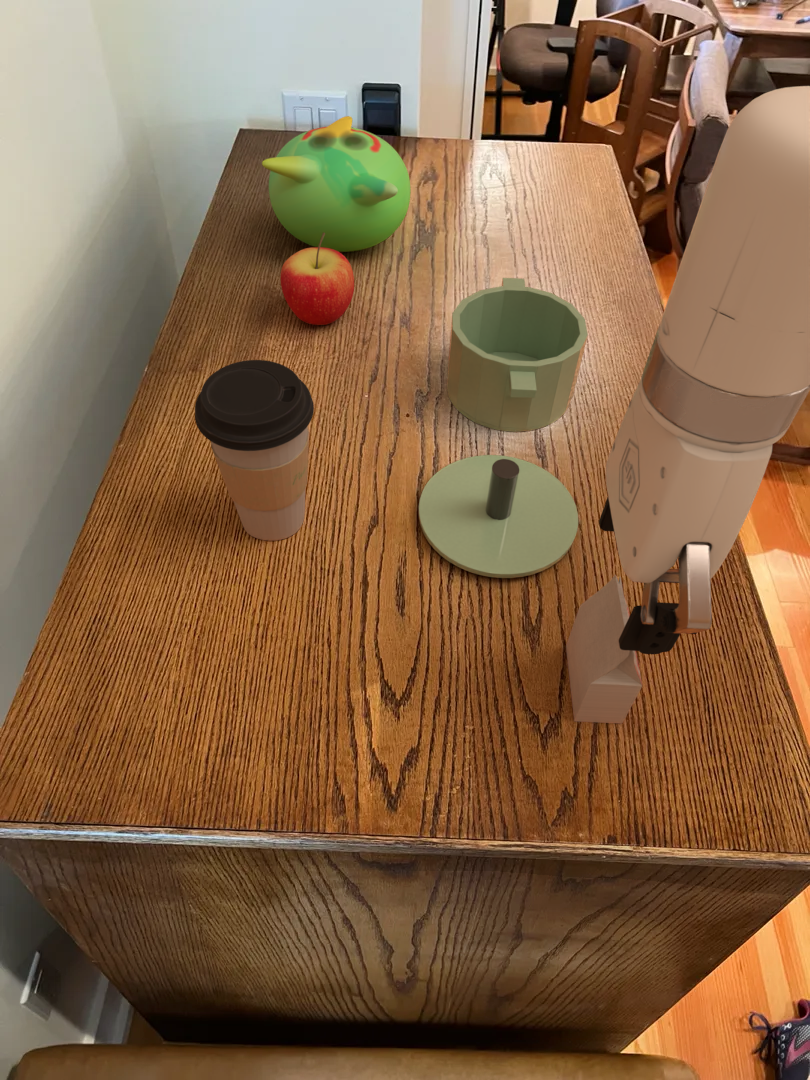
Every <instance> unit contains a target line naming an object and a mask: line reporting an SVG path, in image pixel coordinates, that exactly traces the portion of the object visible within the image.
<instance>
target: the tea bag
mask: <svg viewBox="0 0 810 1080" xmlns="http://www.w3.org/2000/svg"><path fill="white" fill-rule="evenodd" d="M630 614H631V613H630V609H629V605H628V603H627V600H626V598H625V593H624V588H623V582H622V577H621V575H619V579H618V577H617V575H616V573H615V574H613V576H612V577H611V578H610V580H609V581H607V583H606V584H604V586H602V587H601V588H600V589H599V590H598V591H596V592H595V593H593V594H592V595H591V596H590V597H589V598H587V599H586V600H585V601H583V602H582V603H581V604H580V605H579V607H578V611H577V613H576V616H575V619H574V622H573V624H572V626H571V630H570V633H569V636H568V639H567V641H566V645H565V651H566V659H567V668H568V678H569V687H570V696H571V704H572V714H573V722H579V723H598V724H599V723H600V724H601V723H603V724H624V721H625V719H626V717H627V716H628V714H629V712H630V710H631V708H632V706H633V705H634V702H635V701H636V699H637V697H638V695H639V694H640V691H641V690H642V688H643V682H642V681H643V680H642V675H641V670H640V663H639V659H638V654H637V651H629V650H621V649H620V647H619V638H620V636H621V634H622V632H623V629H624V627H625V625H626V623H627V621H628V619H629V617H630Z"/></svg>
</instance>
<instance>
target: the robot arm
mask: <svg viewBox="0 0 810 1080" xmlns="http://www.w3.org/2000/svg"><path fill="white" fill-rule="evenodd" d="M708 178H709V179H708V181H707V185H706V188H705V190H704V194H703V196H702V198H701V202H700V204H699V208H698V211H697V214H696V217H695V220H694V222H693V225H692V228H691V232H690V234H689V237H688V240H687V243H686V246H685V248H684V252H683V254H682V258H681V259H680V264H679V266H678V270H677V272H676V275H675V279H674V281H673V284H672V287H671V290H670V293H669V295H668V299H667V302H666V305H665V307H664V311H663V313H662V316H661V318H660V322H659V325H658V328H657V330H656V332H655V333H656V334H655V336H654V339H653V342H652V344H651V348H650V351H649V352H648V353H649V354H648V356H647V358H646V359H647V360H646V361H645V364H644V368H643V371H642V375H641V377H640V379H639V382H638V384H637V386H636V388H635V390H634V393H633V395H632V397H631V399H630V401H629V403H628V406H627V407H626V410H625V413H624V416H623V418H622V421H621V422H620V426H619V428H618V431H617V433H616V435H615V438H614V441H613V443H612V445H611V448H610V450H609V454H608V456H607V459H606V463H605V484H606V490H607V491H606V492H607V497H606V500H605V504H604V506H603V509H602V511H601V515H600V517H599V520H598V525H599V528H600V530H602V531H603V532H612V533H613V532H614V538H615V542H616V548H617V553H618V557H619V561H620V565H621V568H622V570H623V572H624V574H625V575H626V577H627V578H628V579H629V580H630V581H631V582H633V583H641V584H642V583H643V586H642V595H641V604H639V605H635V606H633V608H632V610H631V612H630V613H629V614H630V617H629V619H628V621H627V623H626V625H625V627H624V629H623V632H622V634H621V636H620V638H619V647H620V649H621V650H629V651H636V652H639V653H640V654H644V655H660V654H662V653H668V652H670V651H672V649H673V648H674V646H675V645H676V643H677V641H678V639H679V637H680V635H682V634H683V635H697V634H698V633H702V632H706V631H709V630H710V629H711V627H712V625H713V623H712V621H713V616H712V613H713V612H712V611H713V610H712V587H711V586H712V585H711V584H712V582H711V580H712V578H714V576H715V575H716V574H717V572H718V571H719V569H720V568H721V567H722V565H723V563H724V562H725V560H726V559H727V557H728V555H729V553H730V552H731V550H732V547H734V544H735V542H736V540H737V538H738V536H739V534H740V532H741V529H742V528H743V526H744V523H745V521H746V519H747V517H748V515H749V513H750V511H751V508H752V506H753V503H754V501H755V498H756V497H757V494H758V491H759V489H760V486H761V484H762V481H763V479H764V477H765V473H766V470H767V469H768V468H767V467H768V466H769V465H768V464H769V462H770V459H771V456H772V453H773V444H775V443H777V442H779V441H780V440H781V439H782V438H783V437H784V436H785V435H786V433H787V432H788V430H789V428H790V426H791V425H792V423H793V422H794V419H795V417H796V416H797V414H798V412H799V411H800V409H801V407H802V405H803V404H804V401H805V399H806V398H807V396H808V395H809V393H810V85H800V86H799V85H798V86H787V87H781V88H777V89H773V90H770V91H768V92H765V93H763V94H761V95H759V96H756V97H755V98H754V99H752V100H751V101H749V102H748V103H747V104H746V105H745V106H744V107H743V108H742V109H740V110H739V112H738V113H737V114H736V116H735V117H733V119H732V121H731V123H730V124H729V126H728V128H727V129H726V132H725V134H724V137H723V140H722V143H721V145H720V147H719V150H718V152H717V156H716V158H715V161H714V164H713V167H712V170H711V173H710V175H709V177H708ZM677 561H678V568H673V567H674V566H675V564H676V562H677ZM661 583H666V584H667V583H668V584H678V592H679V593H678V594H679V595H678V596H679V597H678V598H679V599H678V600H679V601H678V602H663V601H662V602H661V601H659V595H660V594H659V593H660V584H661Z"/></svg>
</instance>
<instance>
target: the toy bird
mask: <svg viewBox="0 0 810 1080" xmlns="http://www.w3.org/2000/svg"><path fill="white" fill-rule="evenodd" d="M352 126H353V117H352V116H350V115H345V116H343V117H340V118H339V119H337V120H335V121H334V122H332V123H330V124H329V125H327V126H322V127H316V128H313V129H308V130H307V131H304V132H302V133H300V134H297V135H296V136H294V137H293V138H292V139H290V140H289V141H288V142H286V143H285V144H284V146H283V147H282V148H281V149H280V150H279V151H278V153H277V155H276V156H275V157H269V158H265V159H264V160H262V161H261V165H262V167H263V168H264V169H266V170H268V171H269V176H268V196H269V201H270V205H271V208H272V210H273V212H274V214H275V217H276V218H277V220H278V221H279V223H280V224H281V225H282V227H283V228H284V229H285V230H286V231H287V232H288V233H289V234H290V235H292V236H293V237H294V238H295V239H297V240H299V241H301V242H303V243H305V244H306V245H308V246H311V247H318V246H319V243H320V239H321V236H322V234H323V232H324V233H325V235H324V238H323V240H322V243H321V246H320V247H323V248H330V249H334V250H336V251H338V252H340V253H346V252H347V253H348V252H357V251H363V250H366V249H370V248H372V247H375V246H378V245H380V244H381V243H383V242H385V241H386V240H387V239H388V238H390V237H391V236H392V235H393V234H394V233H395V232H396V231H397V230H398V229H399V227H400V226H401V225H402V224H403V221H404V220H405V218H406V215H407V213H408V210H409V208H410V202H411V193H412V189H411V180H410V179H411V178H410V175H409V172H408V168H407V166H406V164H405V162H404V160H403V159H402V157H401V155H400V154H399V153H398V151H397V150H396V149H395V148H394V147H393V146H392V145H391V144H389V142H387V141H386V140H385V139H384V138H381V137H379V136H378V135H376V134H374V133H372V132H370V131H367V130H364V129H360V128H357V127H352Z"/></svg>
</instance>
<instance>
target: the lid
mask: <svg viewBox="0 0 810 1080" xmlns="http://www.w3.org/2000/svg"><path fill="white" fill-rule="evenodd" d="M418 502H419V503H418V520H419V526H420V529H421V532H422V533H423V536H424V537H425V539H426V541H427V542H428V543H429V545H430V546H431V547H432V548H433V549H434V551H435V552H436V553H438V554H439V555H440V557H442V558H443V559H445V560H446V561H447V562H449V563H450V564H452V565H454V566H456V567H457V568H460V569H462V570H464V571H467V572H469V573H472V574H475V575H479V576H483V577H488V578H495V579H496V578H497V579H514V578H523V577H526V576H531V575H532V576H533V575H534V574H538V573H540V572H543V571H546V570H548V569H549V568H551V567H553V566H554V565H556V564H557V563H558V562H559V561H561V560H562V558H564V557H565V556H566V555H567V553H568V552H569V551H570V549H571V548H572V546H573V544H574V542H575V540H576V536H577V533H578V528H579V513H578V508H577V505H576V502H575V499H574V497H573V496H572V494H571V493H570V491H569V490H568V489H567V487H566V486H565V485H564V484H563V483H562V482H561V481H560V480H559V478H557V476H555V475H553V474H552V473H551V472H549V471H547V469H545V468H543V467H541V466H539V465H537V464H535V463H533V462H530V461H527V460H525V459H521V458H518V457H513V456H510V455H509V456H508V455H500V454H482V455H474V456H469V457H464V458H461V459H459V460H456V461H453V462H451V463H449V464H447V465H446V466H444V467H442V468H441V469H439V470H438V471H437V472H435V474H434V475H432V476H431V477H430V478H429V480H428V481H427V483H426V484H425V485H424V487H423V489H422V492H421V494H420V497H419V501H418Z"/></svg>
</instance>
